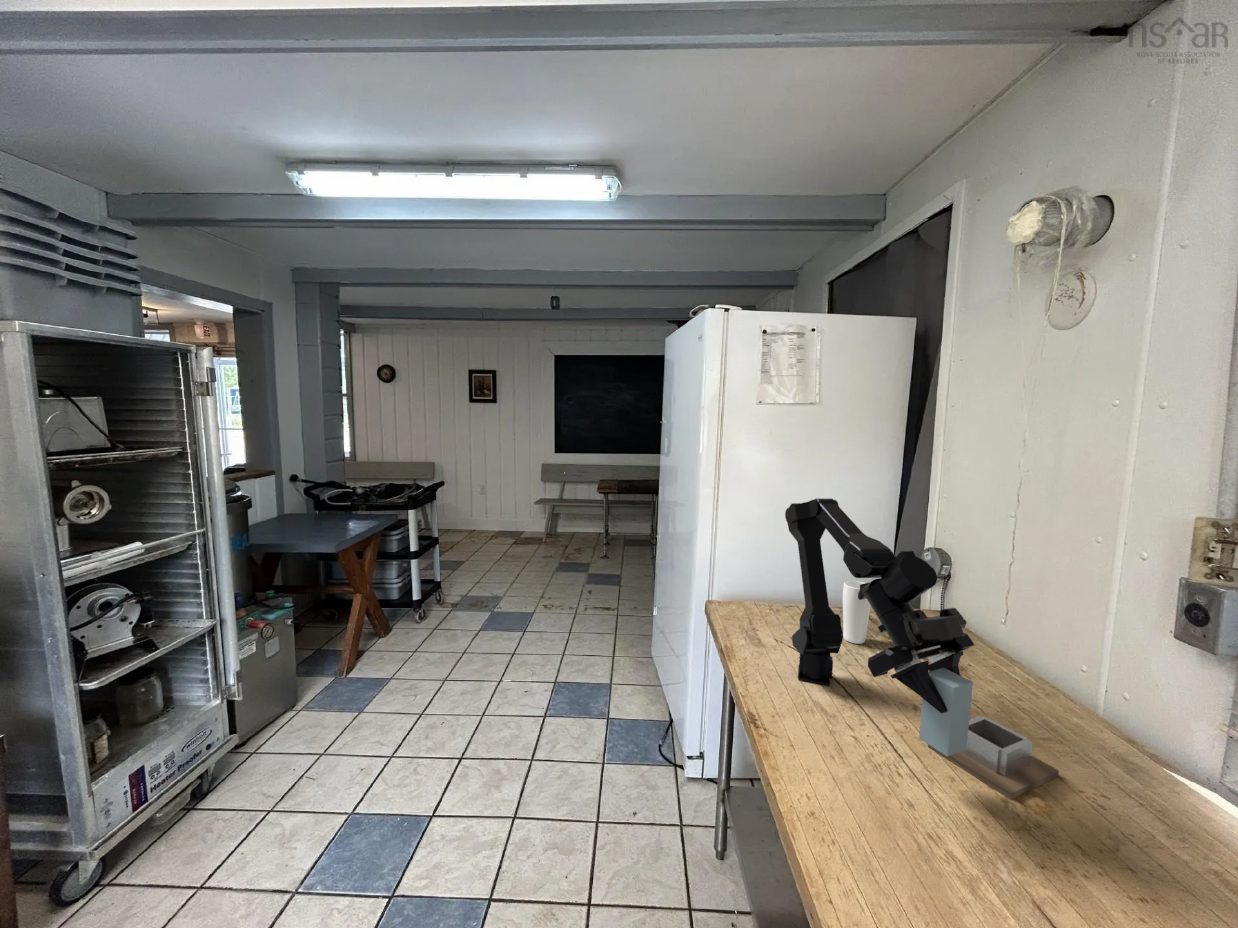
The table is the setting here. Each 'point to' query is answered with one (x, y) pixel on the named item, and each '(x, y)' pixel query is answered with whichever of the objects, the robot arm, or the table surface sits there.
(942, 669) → the light blue pillar
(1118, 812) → the table surface
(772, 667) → the table surface
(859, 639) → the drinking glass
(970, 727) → the docking socket
